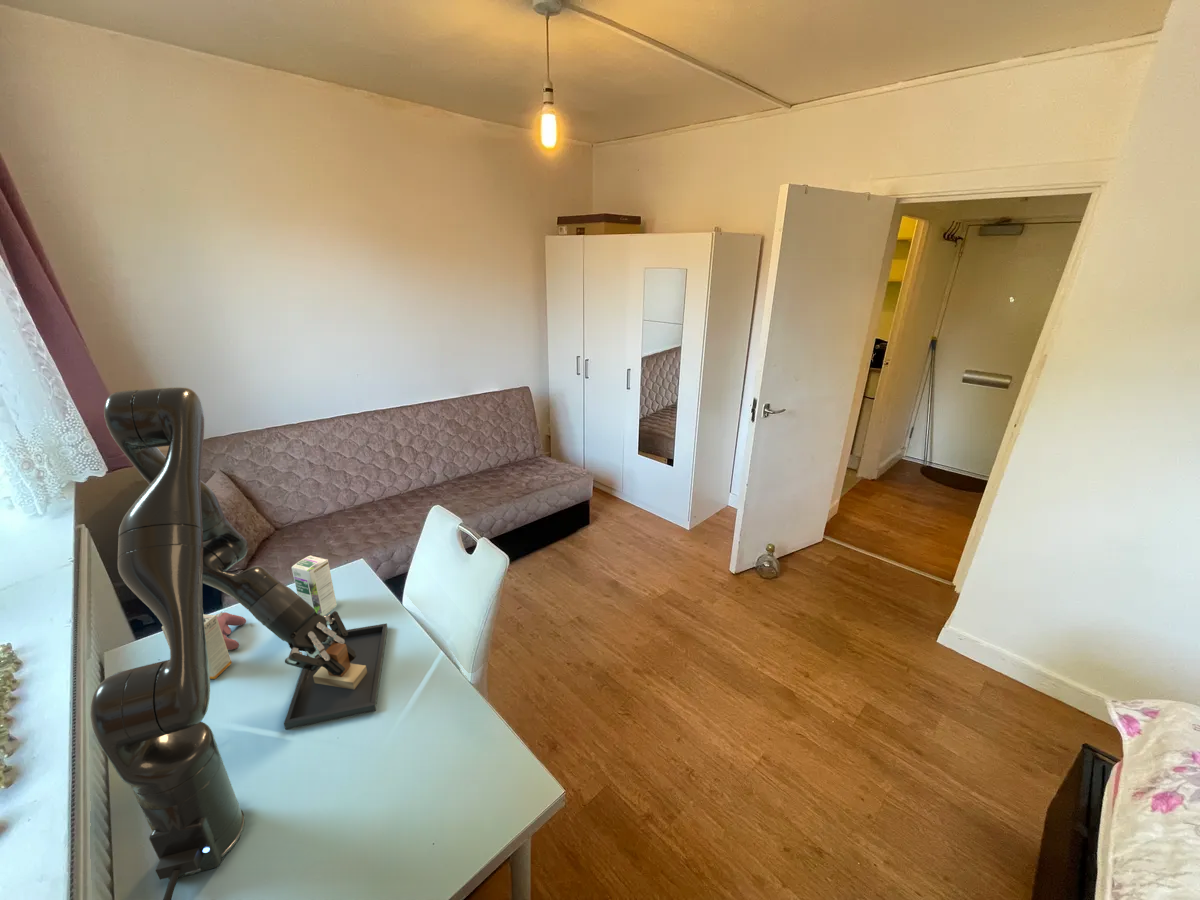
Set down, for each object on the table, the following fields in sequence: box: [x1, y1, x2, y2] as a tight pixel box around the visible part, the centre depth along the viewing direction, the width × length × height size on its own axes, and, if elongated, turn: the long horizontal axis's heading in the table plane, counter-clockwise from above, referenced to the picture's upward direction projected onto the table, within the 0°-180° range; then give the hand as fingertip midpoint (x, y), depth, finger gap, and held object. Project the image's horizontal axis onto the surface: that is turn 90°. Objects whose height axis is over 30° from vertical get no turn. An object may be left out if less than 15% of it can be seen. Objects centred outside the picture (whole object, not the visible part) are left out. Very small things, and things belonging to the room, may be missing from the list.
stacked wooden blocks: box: [313, 642, 367, 690], centre depth 101 cm, size 9×4×8 cm, turn 81°
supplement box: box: [161, 613, 233, 680], centre depth 102 cm, size 8×5×13 cm, turn 84°
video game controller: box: [215, 612, 247, 651], centre depth 111 cm, size 10×5×7 cm, turn 25°
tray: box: [283, 623, 389, 730], centre depth 104 cm, size 24×16×2 cm, turn 17°
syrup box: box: [291, 555, 338, 617], centre depth 119 cm, size 6×6×14 cm
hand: (347, 665), depth 101 cm, fingers closed on stacked wooden blocks, 3 cm apart
